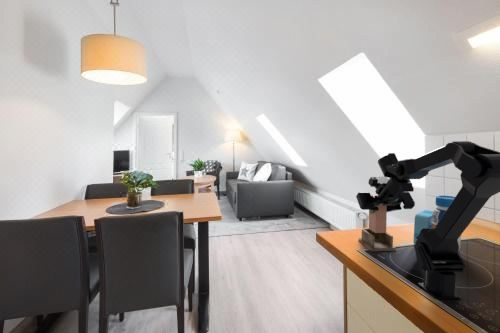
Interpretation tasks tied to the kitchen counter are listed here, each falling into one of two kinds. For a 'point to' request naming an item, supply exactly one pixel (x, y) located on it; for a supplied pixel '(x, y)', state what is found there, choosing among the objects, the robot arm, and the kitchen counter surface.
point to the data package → (422, 222)
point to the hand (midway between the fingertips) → (375, 212)
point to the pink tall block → (378, 219)
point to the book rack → (377, 240)
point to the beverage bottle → (442, 211)
